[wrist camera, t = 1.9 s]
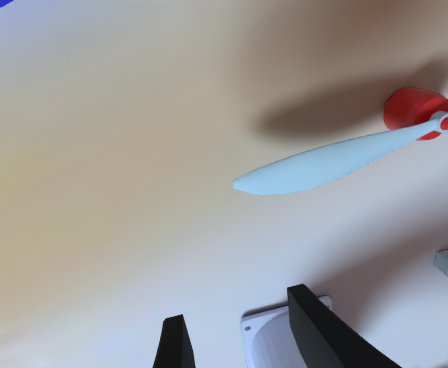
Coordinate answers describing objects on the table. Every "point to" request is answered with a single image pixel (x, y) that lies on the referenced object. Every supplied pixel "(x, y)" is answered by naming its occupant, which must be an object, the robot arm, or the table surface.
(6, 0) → the figurine character
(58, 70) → the table surface
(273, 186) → the propeller
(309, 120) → the table surface
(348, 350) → the robot arm
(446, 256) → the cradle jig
